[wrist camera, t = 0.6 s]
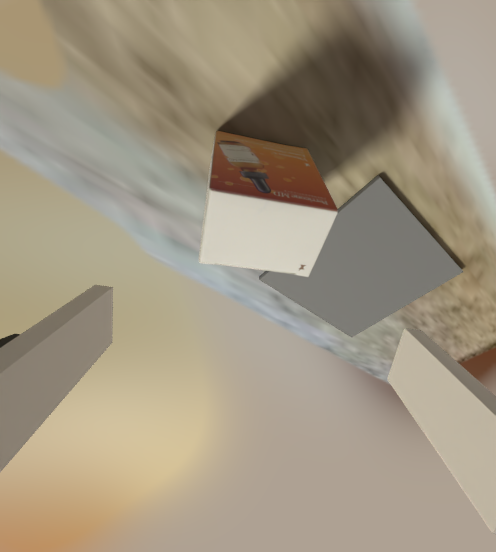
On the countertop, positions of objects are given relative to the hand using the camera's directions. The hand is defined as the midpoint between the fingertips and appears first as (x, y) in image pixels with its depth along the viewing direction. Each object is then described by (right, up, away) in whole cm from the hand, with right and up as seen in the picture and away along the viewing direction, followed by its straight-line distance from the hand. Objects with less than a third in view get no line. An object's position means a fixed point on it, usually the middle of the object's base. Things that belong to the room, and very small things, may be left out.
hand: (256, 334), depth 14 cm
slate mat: (+13, +3, +22) cm, 26 cm away
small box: (0, +12, +13) cm, 18 cm away
